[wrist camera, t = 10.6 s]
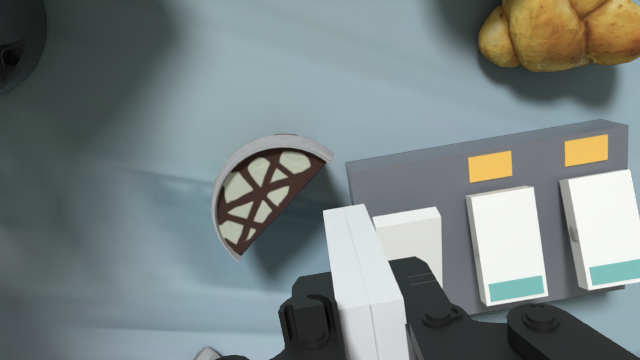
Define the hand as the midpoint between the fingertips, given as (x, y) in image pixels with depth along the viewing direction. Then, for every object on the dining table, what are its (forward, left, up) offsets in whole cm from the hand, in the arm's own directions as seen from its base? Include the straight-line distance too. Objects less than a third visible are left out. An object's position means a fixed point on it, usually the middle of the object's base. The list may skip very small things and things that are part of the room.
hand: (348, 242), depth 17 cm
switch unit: (+13, +15, -29) cm, 35 cm away
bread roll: (-6, +22, -30) cm, 37 cm away
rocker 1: (+13, +6, -23) cm, 27 cm away
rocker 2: (+13, +15, -23) cm, 30 cm away
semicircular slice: (+3, -6, -30) cm, 30 cm away
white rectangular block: (+13, +24, -23) cm, 35 cm away
